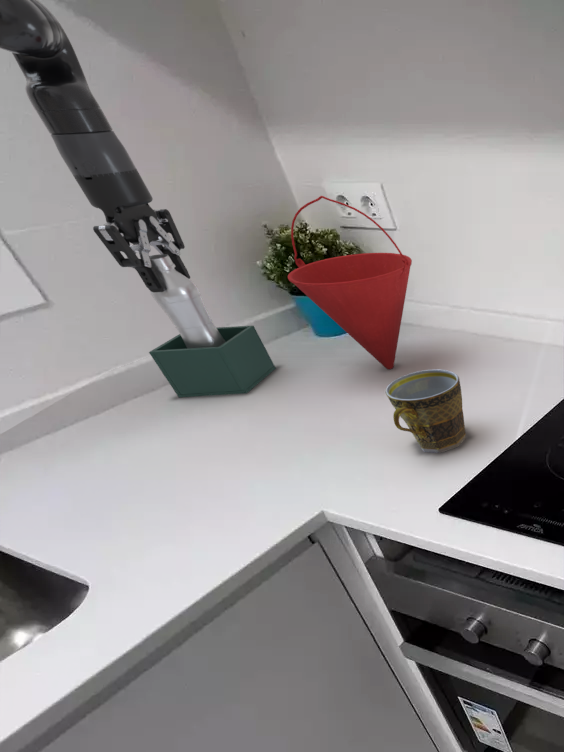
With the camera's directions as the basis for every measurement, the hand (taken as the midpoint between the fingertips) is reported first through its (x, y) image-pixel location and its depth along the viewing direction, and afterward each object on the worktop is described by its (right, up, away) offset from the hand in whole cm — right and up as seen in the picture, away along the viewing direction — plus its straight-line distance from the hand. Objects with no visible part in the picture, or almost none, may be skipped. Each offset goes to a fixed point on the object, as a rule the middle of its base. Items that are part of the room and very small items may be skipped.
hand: (171, 285), depth 93 cm
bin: (+1, -14, +11) cm, 18 cm away
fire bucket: (+29, -11, +15) cm, 35 cm away
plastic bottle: (0, -12, +10) cm, 16 cm away
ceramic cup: (+49, -29, -9) cm, 57 cm away
